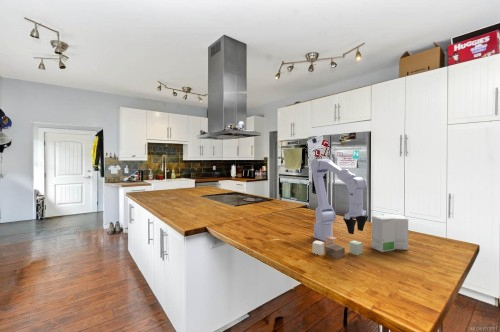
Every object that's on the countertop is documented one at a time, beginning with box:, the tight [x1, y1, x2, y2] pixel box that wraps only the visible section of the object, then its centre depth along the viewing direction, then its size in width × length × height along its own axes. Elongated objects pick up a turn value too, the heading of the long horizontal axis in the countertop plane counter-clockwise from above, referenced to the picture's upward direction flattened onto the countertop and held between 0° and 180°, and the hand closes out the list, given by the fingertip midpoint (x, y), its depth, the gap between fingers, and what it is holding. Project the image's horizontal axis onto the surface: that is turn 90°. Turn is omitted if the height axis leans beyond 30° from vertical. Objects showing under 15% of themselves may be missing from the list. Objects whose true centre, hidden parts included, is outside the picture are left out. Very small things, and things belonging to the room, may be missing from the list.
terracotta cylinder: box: [325, 235, 335, 246], centre depth 114 cm, size 4×4×5 cm
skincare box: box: [371, 215, 396, 253], centre depth 111 cm, size 8×7×16 cm
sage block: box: [348, 240, 363, 256], centre depth 107 cm, size 4×4×5 cm
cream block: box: [312, 239, 325, 256], centre depth 107 cm, size 4×4×5 cm
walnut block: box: [324, 243, 346, 260], centre depth 105 cm, size 6×6×4 cm
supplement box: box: [381, 213, 409, 251], centre depth 114 cm, size 9×9×15 cm
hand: (355, 232), depth 106 cm, fingers open, 7 cm apart
